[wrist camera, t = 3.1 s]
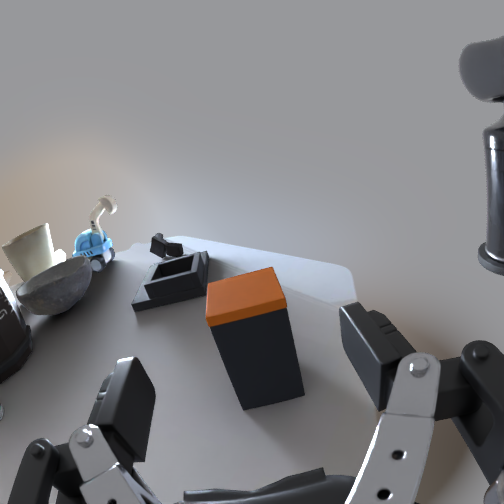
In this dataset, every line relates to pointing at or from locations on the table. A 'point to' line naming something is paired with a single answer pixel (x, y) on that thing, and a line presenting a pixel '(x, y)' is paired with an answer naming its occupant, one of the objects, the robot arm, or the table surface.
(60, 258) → the stone
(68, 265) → the bowl
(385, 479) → the robot arm
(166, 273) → the dark square socket base
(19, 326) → the barrel
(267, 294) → the black and orange block
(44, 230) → the plant pot
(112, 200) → the toy excavator
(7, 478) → the table surface
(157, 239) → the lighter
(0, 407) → the spray can
